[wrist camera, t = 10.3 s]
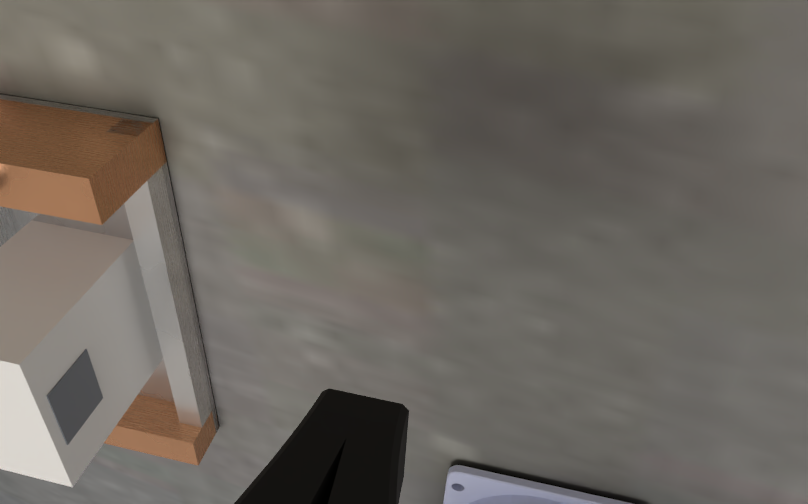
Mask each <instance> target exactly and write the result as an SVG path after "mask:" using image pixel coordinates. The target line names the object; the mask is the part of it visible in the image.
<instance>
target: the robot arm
mask: <svg viewBox="0 0 808 504" xmlns="http://www.w3.org/2000/svg"><path fill="white" fill-rule="evenodd" d="M408 415H409V410H408V409H407V408H406V407H405V406H404V405H403V404H399V403H395V402H390V401H385V400H380V399H376V398H371V397H366V396H362V395H357V394H352V393H347V392H343V391H338V390H333V389H327V390H325V391H323V392H322V393H321V394H320V396H319V397H318V399H317V400H316V402H315V403H314V405H313V406H312V408H311V409H310V410H309V412H308V413H307V415H306V416H305V417H304V419H303V420H302V422H301V423H300V424H299V426H298V427H297V428H296V430H295V431H294V432H293V433H292V435H291V436H290V437H289V439H288V440H287V441H286V442H285V444H284V445H283V446H282V447H281V449H280V450H279V451H278V452H277V454H276V455H275V456H274V457H273V459H272V460H271V461H270V462H269V464H268V465H267V466H266V467H265V468H264V469H263V471H262V472H261V473H260V474H259V475H258V476H257V478H256V479H255V480H254V481H253V482H252V483H251V485H250V486H249V487H248V488H247V489H246V490H245V492H244V493H243V494H242V495H241V496H240V497H239V499H238V500H237V501H236V502H235V503H234V504H398V503H399V497H400V492H401V487H402V482H403V477H404V465H405V453H406V440H407V428H408ZM443 504H633V503H628V502H624V501H620V500H615V499H611V498H606V497H602V496H597V495H593V494H588V493H584V492H579V491H575V490H570V489H566V488H561V487H557V486H552V485H548V484H543V483H539V482H534V481H530V480H525V479H521V478H516V477H512V476H507V475H503V474H498V473H494V472H489V471H485V470H480V469H476V468H471V467H467V466H462V465H454V466H452V467H450V468H449V470H448V474H447V480H446V487H445V494H444V501H443Z"/></svg>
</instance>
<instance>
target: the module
mask: <svg viewBox="0 0 808 504" xmlns="http://www.w3.org/2000/svg"><path fill="white" fill-rule="evenodd" d="M162 359H163V357H162V353H161V349H160V344H159V340H158V336H157V332H156V328H155V324H154V319H153V315H152V311H151V307H150V303H149V300H148V296H147V292H146V288H145V284H144V280H143V276H142V272H141V268H140V264H139V260H138V256H137V252H136V248H135V244H134V240H131V239H125V238H120V237H115V236H110V235H105V234H100V233H95V232H89V231H84V230H79V229H74V228H69V227H64V226H59V225H53V224H48V223H43V222H38V221H33V220H31V221H30V222H29V223H28V224H27V225H25V226H24V227H23V228H22V229H21V230H20V231H18V232H17V233H16V234H15V235H14V236H12V237H11V238H10V239H9V240H8V241H7V242H5V243H4V244H3V245H2V246H1V247H0V469H3V470H7V471H11V472H15V473H19V474H23V475H27V476H31V477H34V478H38V479H42V480H46V481H50V482H54V483H58V484H62V485H66V486H70V487H73V486H74V485H75V484H76V482H77V481H78V479H79V478H80V476H81V475H82V474H83V472H84V471H85V469H86V468H87V466H88V465H89V464H90V462H91V461H92V459H93V458H94V456H95V455H96V454H97V452H98V451H99V449H100V448H101V446H102V445H103V444H104V442H105V441H106V439H107V438H108V436H109V435H110V434H111V432H112V431H113V429H114V428H115V426H116V425H117V424H118V422H119V421H120V419H121V418H122V416H123V415H124V414H125V412H126V411H127V409H128V408H129V406H130V405H131V404H132V402H133V401H134V399H135V398H136V396H137V395H138V394H139V392H140V391H141V389H142V388H143V386H144V385H145V384H146V382H147V381H148V379H149V378H150V376H151V375H152V374H153V372H154V371H155V369H156V368H157V366H158V365H159V364H160V362H161V361H162Z"/></svg>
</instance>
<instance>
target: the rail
mask: <svg viewBox="0 0 808 504" xmlns="http://www.w3.org/2000/svg"><path fill="white" fill-rule="evenodd" d="M31 220H33V221H38V222H43V223H48V224H53V225H59V226H64V227H69V228H74V229H79V230H84V231H89V232H95V233H100V234H105V235H110V236H115V237H120V238H125V239H131V240H134V244H135V248H136V252H137V256H138V260H139V264H140V268H141V272H142V276H143V280H144V284H145V288H146V292H147V296H148V300H149V303H150V307H151V311H152V315H153V319H154V324H155V328H156V332H157V336H158V340H159V344H160V349H161V353H162V357H163V359H162V361H161V362H160V364H159V365H158V366H157V368H156V369H155V371H154V372H153V374H152V375H151V376H150V378H149V379H148V381H147V382H146V384H145V385H144V386H143V388H142V389H141V391H140V392H139V394H138V395H137V396H136V398H135V399H134V401H133V402H132V404H131V405H130V406H129V408H128V409H127V411H126V412H125V414H124V415H123V416H122V418H121V419H120V421H119V422H118V424H117V425H116V426H115V428H114V429H113V431H112V432H111V434H110V435H109V436H108V438H107V439H106V441H105V442H104V443H105V444H110V445H114V446H118V447H122V448H127V449H131V450H135V451H139V452H144V453H148V454H152V455H156V456H160V457H165V458H169V459H173V460H177V461H182V462H186V463H190V464H194V465H199V463H200V461H201V460H202V458H203V456H204V454H205V452H206V451H207V449H208V447H209V445H210V443H211V441H212V440H213V438H214V436H215V434H216V432H217V430H218V429H219V424H218V419H217V414H216V409H215V404H214V399H213V394H212V389H211V384H210V379H209V373H208V368H207V363H206V358H205V353H204V348H203V343H202V338H201V333H200V328H199V323H198V318H197V313H196V308H195V302H194V297H193V292H192V287H191V282H190V277H189V272H188V267H187V262H186V257H185V252H184V247H183V242H182V236H181V231H180V226H179V221H178V216H177V211H176V206H175V201H174V196H173V191H172V186H171V181H170V176H169V171H168V165H167V160H166V155H165V150H164V145H163V140H162V135H161V130H160V125H159V120H158V119H157V118H151V117H145V116H138V115H132V114H125V113H119V112H113V111H106V110H100V109H93V108H87V107H80V106H74V105H68V104H61V103H55V102H48V101H42V100H36V99H29V98H23V97H16V96H10V95H4V94H0V247H1V246H2V245H3V244H4V243H5V242H7V241H8V240H9V239H10V238H11V237H12V236H14V235H15V234H16V233H17V232H18V231H20V230H21V229H22V228H23V227H24V226H25V225H27V224H28V223H29V222H30V221H31Z"/></svg>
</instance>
